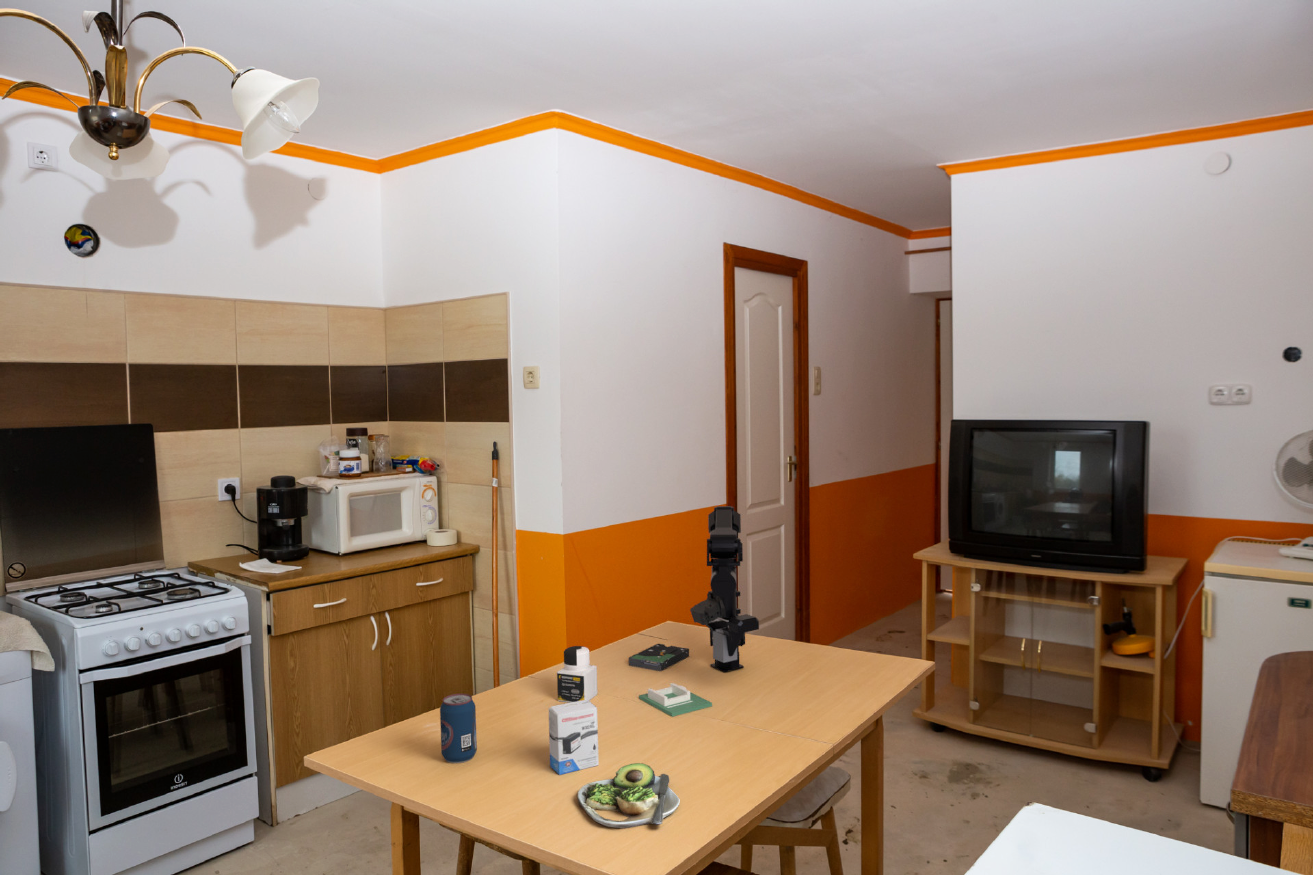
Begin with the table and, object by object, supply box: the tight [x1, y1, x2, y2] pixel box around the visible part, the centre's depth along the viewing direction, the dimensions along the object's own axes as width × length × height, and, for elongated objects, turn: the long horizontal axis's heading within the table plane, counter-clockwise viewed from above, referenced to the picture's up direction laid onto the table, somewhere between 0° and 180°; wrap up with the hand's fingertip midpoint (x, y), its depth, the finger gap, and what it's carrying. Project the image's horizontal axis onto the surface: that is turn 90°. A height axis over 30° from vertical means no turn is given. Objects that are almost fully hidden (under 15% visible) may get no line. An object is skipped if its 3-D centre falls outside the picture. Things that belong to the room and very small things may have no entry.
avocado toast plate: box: [577, 762, 681, 829], centre depth 153 cm, size 19×18×5 cm
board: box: [638, 682, 713, 718], centre depth 204 cm, size 14×11×3 cm
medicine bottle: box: [556, 645, 598, 703], centre depth 208 cm, size 7×7×12 cm
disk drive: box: [628, 643, 690, 672], centre depth 235 cm, size 10×3×15 cm
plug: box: [712, 627, 737, 663], centre depth 205 cm, size 4×4×7 cm
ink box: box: [548, 700, 600, 776], centre depth 170 cm, size 8×5×12 cm, turn 117°
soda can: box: [439, 693, 478, 764], centre depth 175 cm, size 7×7×12 cm
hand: (725, 653), depth 205 cm, fingers closed on plug, 4 cm apart
